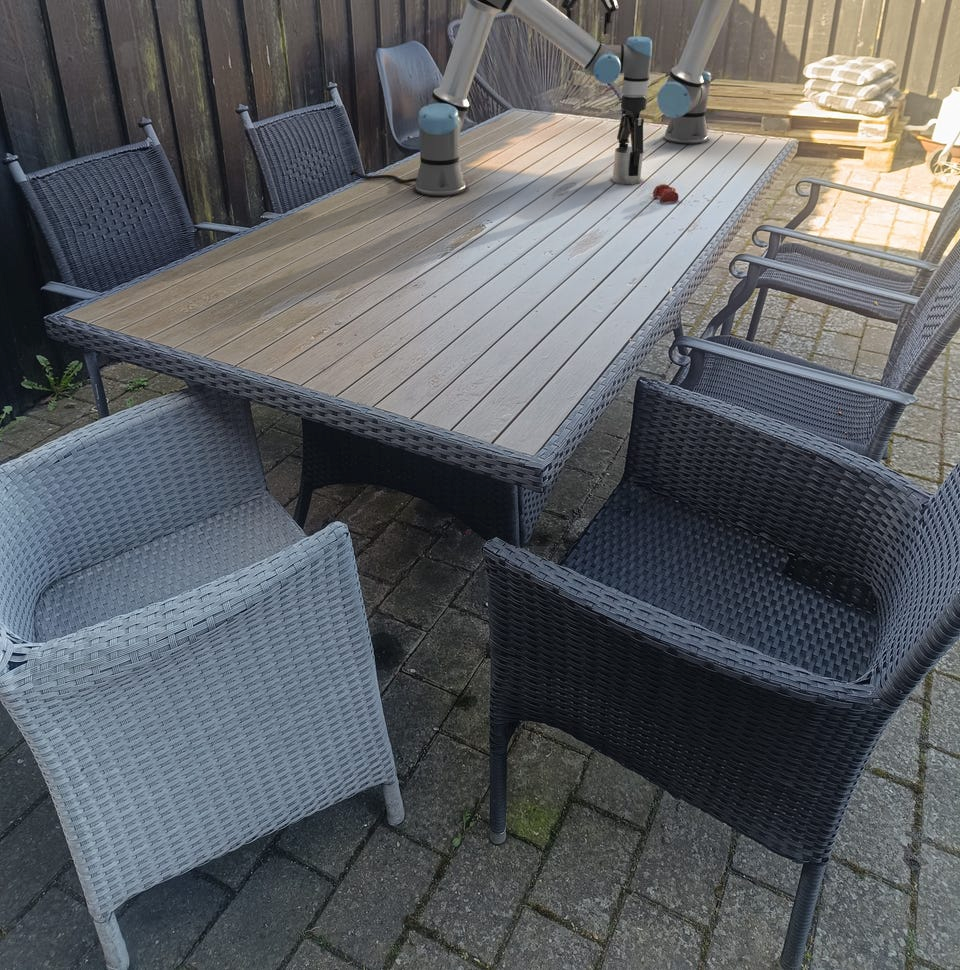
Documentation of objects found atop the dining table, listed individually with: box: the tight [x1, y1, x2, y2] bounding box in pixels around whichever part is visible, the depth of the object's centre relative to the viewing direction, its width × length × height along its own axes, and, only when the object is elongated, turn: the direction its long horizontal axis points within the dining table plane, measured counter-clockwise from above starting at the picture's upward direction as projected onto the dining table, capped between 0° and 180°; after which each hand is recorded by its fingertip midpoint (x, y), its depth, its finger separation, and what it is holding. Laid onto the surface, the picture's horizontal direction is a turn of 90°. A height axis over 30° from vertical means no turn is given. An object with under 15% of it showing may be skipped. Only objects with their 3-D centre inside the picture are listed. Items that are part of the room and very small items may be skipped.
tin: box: [612, 146, 644, 185], centre depth 264 cm, size 9×9×9 cm
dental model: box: [652, 183, 679, 203], centre depth 249 cm, size 6×4×8 cm
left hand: (627, 170), depth 265 cm, fingers open, 11 cm apart
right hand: (588, 32), depth 295 cm, fingers open, 13 cm apart
